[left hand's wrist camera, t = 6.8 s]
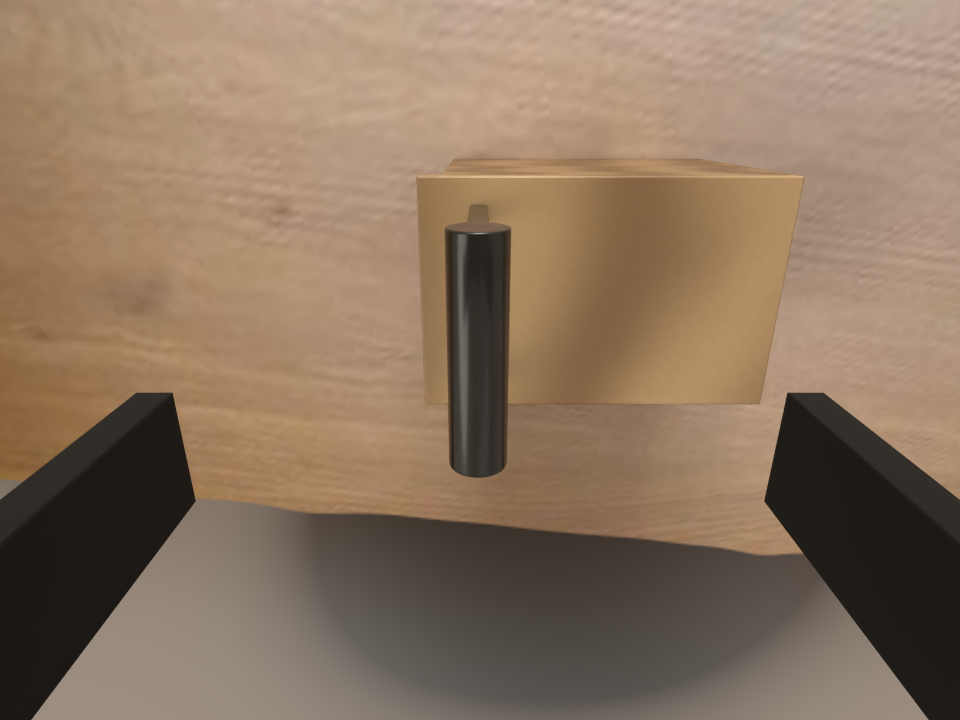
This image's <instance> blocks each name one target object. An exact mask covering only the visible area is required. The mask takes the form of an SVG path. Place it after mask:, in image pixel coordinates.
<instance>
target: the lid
mask: <svg viewBox="0 0 960 720" xmlns="http://www.w3.org/2000/svg"><path fill="white" fill-rule="evenodd" d="M803 181H804V177H803V176H798V175H418V176H417V202H418V228H419V254H420V280H421V307H422V333H423V359H424V385H425V403H426V404H448V420H449V463H450V465H451V467H452V469H453V470H454V471H456V472H457V473H459V474H461V475H464V476H468V477H475V478H481V477H489V476H492V475H495V474H497V473H499V472H501V471H502V470H503V469H504V468H505V466H506V463H507V428H508V404H760V400H761V395H762V390H763V385H764V380H765V375H766V370H767V364H768V359H769V354H770V349H771V344H772V339H773V334H774V329H775V324H776V319H777V314H778V308H779V303H780V298H781V293H782V288H783V283H784V278H785V273H786V268H787V263H788V258H789V252H790V247H791V242H792V237H793V232H794V227H795V222H796V217H797V212H798V207H799V202H800V196H801V191H802V186H803Z"/></svg>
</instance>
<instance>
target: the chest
mask: <svg viewBox="0 0 960 720" xmlns="http://www.w3.org/2000/svg"><path fill="white" fill-rule="evenodd" d="M442 175H791V174H785V173H779V172H773V171H767V170H761V169H755V168H749V167H743V166H737V165H731V164H725V163H719V162H713V161H707V160H701V159H454V160H453V161H452V162H451V164H450V165H449V166H448V168H447V169H446V170H445V172H444V173H443V174H442Z"/></svg>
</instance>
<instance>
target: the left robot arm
mask: <svg viewBox="0 0 960 720" xmlns="http://www.w3.org/2000/svg"><path fill="white" fill-rule="evenodd" d="M195 501H196V500H195V496H194V491H193V486H192V482H191V477H190V472H189V468H188V463H187V458H186V454H185V449H184V444H183V440H182V435H181V430H180V426H179V421H178V416H177V412H176V407H175V402H174V398H173V393H136V394H134V395H133V396H132V397H131V398H129V399H128V400H127V401H126V402H124V403H123V404H122V405H120V406H119V407H118V408H117V409H115V410H114V411H113V412H112V413H110V414H109V415H108V416H106V417H105V418H104V419H103V420H101V421H100V422H99V423H98V424H96V425H95V426H94V427H92V428H91V429H90V430H89V431H87V432H86V433H85V434H83V435H82V436H81V437H80V438H78V439H77V440H76V441H75V442H73V443H72V444H71V445H69V446H68V447H67V448H66V449H64V450H63V451H62V452H61V453H59V454H58V455H57V456H55V457H54V458H53V459H52V460H50V461H49V462H48V463H47V464H45V465H44V466H43V467H41V468H40V469H39V470H38V471H36V472H35V473H34V474H33V475H31V476H30V477H29V478H27V479H26V480H25V481H24V482H22V483H21V484H20V485H19V486H17V487H16V488H15V489H13V490H12V491H11V492H10V493H8V494H7V495H6V496H5V497H3V498H2V499H1V500H0V720H31V719H32V718H33V717H34V715H35V714H36V713H37V711H38V710H39V709H40V707H41V706H42V705H43V703H44V702H45V701H46V700H47V698H48V697H49V696H50V694H51V693H52V692H53V690H54V689H55V688H56V686H57V685H58V684H59V682H60V681H61V680H62V678H63V677H64V676H65V674H66V673H67V672H68V670H69V669H70V668H71V666H72V665H73V664H74V662H75V661H76V660H77V658H78V657H79V656H80V654H81V653H82V652H83V650H84V649H85V648H86V646H87V645H88V644H89V642H90V641H91V640H92V638H93V637H94V636H95V634H96V633H97V632H98V630H99V629H100V628H101V626H102V625H103V624H104V622H105V621H106V620H107V618H108V617H109V616H110V614H111V613H112V612H113V610H114V609H115V608H116V606H117V605H118V604H119V602H120V601H121V600H122V598H123V597H124V596H125V594H126V593H127V592H128V590H129V589H130V588H131V587H132V585H133V584H134V582H135V581H136V580H137V579H138V577H139V576H140V574H141V573H142V572H143V571H144V569H145V568H146V567H147V565H148V564H149V563H150V561H151V560H152V559H153V557H154V556H155V555H156V553H157V552H158V551H159V549H160V548H161V547H162V545H163V544H164V543H165V541H166V540H167V539H168V537H169V536H170V535H171V533H172V532H173V531H174V529H175V528H176V527H177V525H178V524H179V523H180V521H181V520H182V519H183V517H184V516H185V515H186V513H187V512H188V511H189V509H190V508H191V507H192V505H193V504H194V503H195ZM764 501H765V503H766V504H767V505H768V507H769V508H770V509H771V511H772V512H773V513H774V515H775V516H776V517H777V519H778V520H779V521H780V523H781V524H782V525H783V527H784V528H785V529H786V531H787V532H788V533H789V535H790V536H791V537H792V539H793V540H794V541H795V543H796V544H797V545H798V547H799V548H800V549H801V551H802V552H803V553H804V555H805V556H806V557H807V559H808V560H809V561H810V563H811V564H812V565H813V567H814V568H815V569H816V571H817V572H818V573H819V575H820V576H821V577H822V578H823V580H824V581H825V582H826V584H827V585H828V586H829V588H830V589H831V590H832V592H833V593H834V594H835V596H836V597H837V598H838V600H839V601H840V602H841V604H842V605H843V606H844V608H845V609H846V610H847V612H848V613H849V614H850V616H851V617H852V618H853V620H854V621H855V622H856V624H857V625H858V626H859V628H860V629H861V630H862V632H863V633H864V634H865V636H866V637H867V638H868V640H869V641H870V642H871V644H872V645H873V646H874V648H875V649H876V650H877V652H878V653H879V654H880V656H881V657H882V658H883V660H884V661H885V662H886V664H887V665H888V666H889V668H890V669H891V670H892V672H893V673H894V674H895V676H896V677H897V678H898V680H899V681H900V682H901V683H902V685H903V686H904V688H905V689H906V690H907V692H908V693H909V694H910V696H911V697H912V698H913V699H914V701H915V702H916V704H917V705H918V706H919V707H920V709H921V710H922V711H923V713H924V714H925V715H926V717H927V718H928V719H929V720H960V500H959V499H958V498H957V497H955V496H954V495H953V494H952V493H950V492H949V491H948V490H947V489H945V488H944V487H943V486H941V485H940V484H939V483H938V482H936V481H935V480H934V479H933V478H931V477H930V476H929V475H927V474H926V473H925V472H924V471H922V470H921V469H920V468H919V467H917V466H916V465H915V464H913V463H912V462H911V461H910V460H908V459H907V458H906V457H905V456H903V455H902V454H901V453H899V452H898V451H897V450H896V449H894V448H893V447H892V446H891V445H889V444H888V443H887V442H885V441H884V440H883V439H882V438H880V437H879V436H878V435H877V434H875V433H874V432H873V431H871V430H870V429H869V428H868V427H866V426H865V425H864V424H862V423H861V422H860V421H859V420H857V419H856V418H855V417H854V416H852V415H851V414H850V413H848V412H847V411H846V410H845V409H843V408H842V407H841V406H840V405H838V404H837V403H836V402H834V401H833V400H832V399H831V398H829V397H828V396H827V395H826V394H824V393H787V398H786V402H785V407H784V412H783V416H782V421H781V426H780V430H779V435H778V440H777V444H776V449H775V454H774V458H773V463H772V468H771V472H770V477H769V482H768V486H767V491H766V496H765V500H764Z"/></svg>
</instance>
